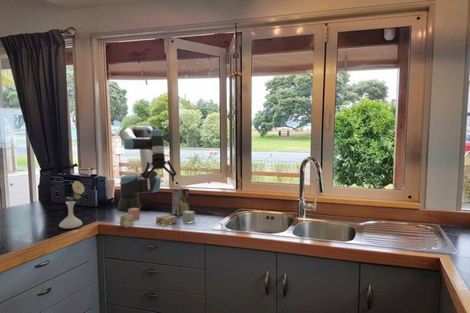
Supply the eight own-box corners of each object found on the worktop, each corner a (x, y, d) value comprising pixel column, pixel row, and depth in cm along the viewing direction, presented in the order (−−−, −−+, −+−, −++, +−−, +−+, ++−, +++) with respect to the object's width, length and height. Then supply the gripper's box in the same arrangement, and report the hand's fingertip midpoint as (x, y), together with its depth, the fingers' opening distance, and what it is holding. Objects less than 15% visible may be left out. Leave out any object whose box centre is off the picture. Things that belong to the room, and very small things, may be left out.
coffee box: (182, 211, 215) (182, 187, 214) (189, 213, 211) (189, 188, 210) (171, 214, 208) (171, 189, 207) (178, 215, 204) (178, 190, 203)
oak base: (156, 223, 186) (156, 216, 186) (167, 220, 192) (167, 214, 192) (165, 226, 181) (165, 219, 181) (176, 223, 187) (176, 216, 187)
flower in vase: (65, 231, 167) (64, 183, 165) (55, 227, 173) (54, 181, 172) (89, 226, 177) (89, 181, 175) (79, 222, 184) (78, 179, 182)
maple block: (120, 226, 179) (120, 215, 178) (127, 224, 183) (127, 213, 182) (125, 227, 176) (125, 216, 175) (133, 225, 180) (133, 215, 180)
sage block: (182, 222, 189) (182, 212, 188) (186, 220, 193) (186, 210, 193) (190, 223, 187) (190, 213, 186) (194, 221, 191) (194, 211, 191)
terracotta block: (128, 218, 195) (128, 208, 195) (135, 217, 198) (135, 207, 198) (131, 220, 191) (131, 210, 191) (139, 218, 195) (139, 209, 194)
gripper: (136, 154, 194) (138, 189, 190) (178, 150, 198) (181, 185, 193) (138, 157, 201) (140, 191, 197) (178, 153, 205) (181, 186, 200)
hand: (160, 188), depth 195 cm, fingers open, 13 cm apart
